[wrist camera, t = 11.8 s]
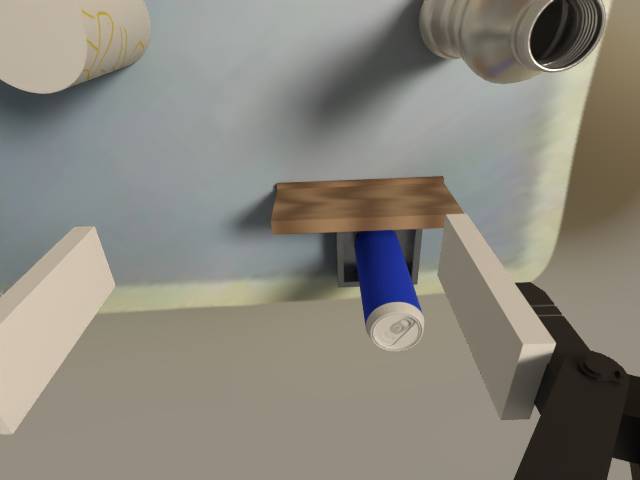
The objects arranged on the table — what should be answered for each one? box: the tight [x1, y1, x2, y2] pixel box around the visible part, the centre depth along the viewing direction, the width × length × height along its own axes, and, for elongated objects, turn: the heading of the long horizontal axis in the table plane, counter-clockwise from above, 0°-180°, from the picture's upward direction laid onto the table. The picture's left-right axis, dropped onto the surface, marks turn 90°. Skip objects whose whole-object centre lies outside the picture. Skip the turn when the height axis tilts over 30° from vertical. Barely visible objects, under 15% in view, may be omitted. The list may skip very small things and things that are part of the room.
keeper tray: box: [336, 229, 422, 287], centre depth 48 cm, size 9×9×2 cm
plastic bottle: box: [419, 0, 606, 84], centre depth 28 cm, size 6×7×20 cm
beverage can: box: [354, 230, 424, 351], centre depth 42 cm, size 5×5×15 cm
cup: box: [0, 0, 151, 94], centre depth 32 cm, size 8×8×12 cm
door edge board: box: [271, 176, 464, 235], centre depth 42 cm, size 18×2×8 cm, turn 92°
